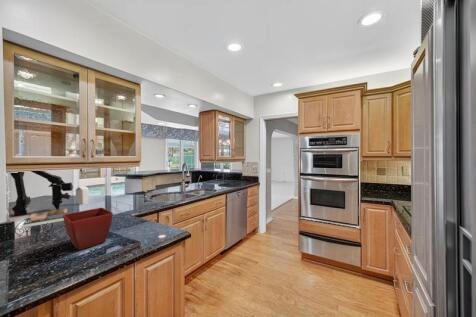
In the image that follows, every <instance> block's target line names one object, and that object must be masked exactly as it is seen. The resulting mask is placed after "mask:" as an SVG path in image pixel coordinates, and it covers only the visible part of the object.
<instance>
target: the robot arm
mask: <svg viewBox="0 0 476 317" xmlns="http://www.w3.org/2000/svg"><path fill="white" fill-rule="evenodd" d="M30 172H31V173H33V174H36V175H38V176H40V177H42V178H44V179H46V180H47V181H48V182H50V184H49V185H48V188H51V193H52V194H51V196H52V197H51V198H52V199H51V200H52V201H51V204H52V205H53V207H54V208H55V209H60V205H61V204H63V199H66V200H70V197H71V195H70V194H69V192H72V191H73V188H74V186H73V182H65V181H64V180H63V179H62V177H61V176H59V175H57V174H51V173H49V172H47V171H45V170H43V171H30ZM9 174H10V175H11V177H12V178H13V181H14V185H15V191H16V195H17V196H16V200H15V205H14V206H13V207H12V208H11V211H12V212H13V216H14V217H23V216H26V215H28V209H27V208H28V206H30V204H31V202H32V200H31V197H30V196H27V193H26V188H25V182H24V176H25V172H18V173H10V172H9ZM62 191H63V192H65V193H63V192H62Z"/></svg>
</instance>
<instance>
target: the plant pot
mask: <svg viewBox="0 0 476 317" xmlns="http://www.w3.org/2000/svg"><path fill="white" fill-rule="evenodd" d="M113 215H114V212H112V211H110V210H108V209H106V208H104V207H98V208H97V207H96V208H92V209H87V210H82V211H81V210H80V211H76V212H71V213H64V214H62V217H63V218H64V221H63V223H64V227H65V230H66V232H67V235H68V238H69V240H70V241H71V243H72V245H73V246H74V248H75V249H76V250H77V251H81V250H84V249H87V248H90V247H94V246H98V245H101V244H103V243H105V242H106V241H107V238H108V235H109V232H110V229H111V226H112V223H113ZM100 243H101V244H100Z"/></svg>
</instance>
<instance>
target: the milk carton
mask: <svg viewBox="0 0 476 317" xmlns="http://www.w3.org/2000/svg"><path fill="white" fill-rule="evenodd" d="M89 190H90V189H89V188H88V187H87V185H86V184H81V185H78V187H77V188H76V189H75V205H89V204H90V193H89V192H90V191H89Z"/></svg>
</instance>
